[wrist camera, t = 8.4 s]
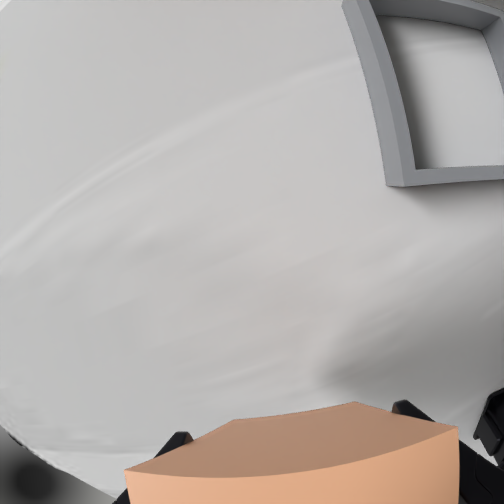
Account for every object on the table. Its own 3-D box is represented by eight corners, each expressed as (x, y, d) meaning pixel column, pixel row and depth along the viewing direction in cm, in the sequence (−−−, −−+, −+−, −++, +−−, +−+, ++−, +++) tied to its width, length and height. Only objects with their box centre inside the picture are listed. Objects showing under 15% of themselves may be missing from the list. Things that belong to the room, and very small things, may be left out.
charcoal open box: (484, 23, 12) (502, 10, 9) (524, 175, 14) (549, 177, 11) (341, 6, 14) (348, -18, 11) (386, 185, 16) (404, 186, 13)
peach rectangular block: (354, 401, 14) (457, 426, 4) (359, 443, 13) (456, 523, 3) (233, 419, 14) (123, 469, 4) (238, 460, 13) (146, 559, 3)
